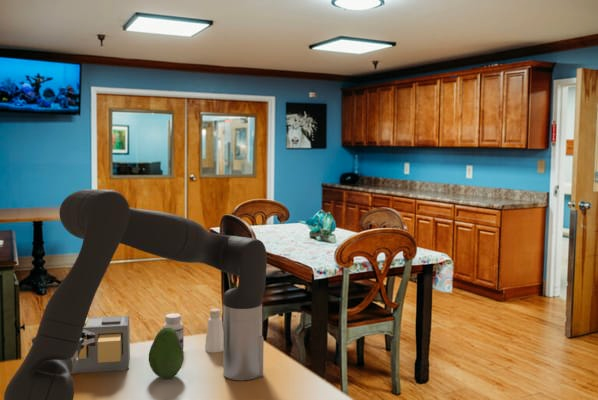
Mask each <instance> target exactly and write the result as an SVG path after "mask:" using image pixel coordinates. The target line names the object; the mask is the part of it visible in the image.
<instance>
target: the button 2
mask: <svg viewBox="0 0 598 400" xmlns="http://www.w3.org/2000/svg"><path fill="white" fill-rule="evenodd" d="M121 355H122V333H106V334H100V336H99V339H98V363H101V362H116V361H120V360H121Z"/></svg>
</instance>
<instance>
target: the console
mask: <svg viewBox="0 0 598 400" xmlns="http://www.w3.org/2000/svg"><path fill="white" fill-rule="evenodd" d="M83 329H84V330H87V331H90V332H92V333H95V346H89V345H88V354H87V357H86V358H83V359H78V361H77V364H76V365H75V367H74V370H73V371H72V373H71V374H78V373H79V374H80V373H94V372H95V373H96V372H107V371H119V370H121V371H123V370H129V366H130V361H131V347H130V346H131V345H130V344H131V342H130V341H131V339H130V330H131V329H130V315H120V316H119V315H118V316H117V315H116V316H102V317H101V316H100V317H87V318H86V322H85V325H84V328H83ZM106 333H122V355H121V360H120V361H116V362H101V363H98V339H99V336H100V334H106Z"/></svg>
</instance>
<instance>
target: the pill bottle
mask: <svg viewBox="0 0 598 400" xmlns="http://www.w3.org/2000/svg"><path fill="white" fill-rule="evenodd" d="M164 318H165V319H164V320H165V322H164V323H163V325H162V329H164V328H170V327H171V328H172V329H173V330H174V331H175V332H176V334H177V336H178V339H179V341H180V344H181V346H182V349H183V350H184V347H185V345H184V323H183V322H181V320H182V317H181V314H180V313H176V312H175V313H174V312H173V313H172V312H171V313H167V314H166V315H165V317H164Z"/></svg>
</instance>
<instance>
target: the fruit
mask: <svg viewBox="0 0 598 400" xmlns="http://www.w3.org/2000/svg"><path fill="white" fill-rule="evenodd" d="M149 349H150V350H149V352H148V363H149V366H150V369H151V370H152V372H153V373H154V374H155V375H156V376H157V377H159V378H160V379H164V380H171V379H173V378H174V377H176V376H177V375H178V373H179V371H180V370H181V369H182V366H183V363H184V348H183V349H182V346H181V344H180V341H179V339H178V336H177V334H176V332H175V331H174V330H173V329H172V328H171V327H170V328H164V329H163V328H162V329H160V331H159V332H158V333H157V334H156V336H155V337H154V340H153V342H152V344H151V345H150V348H149Z"/></svg>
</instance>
